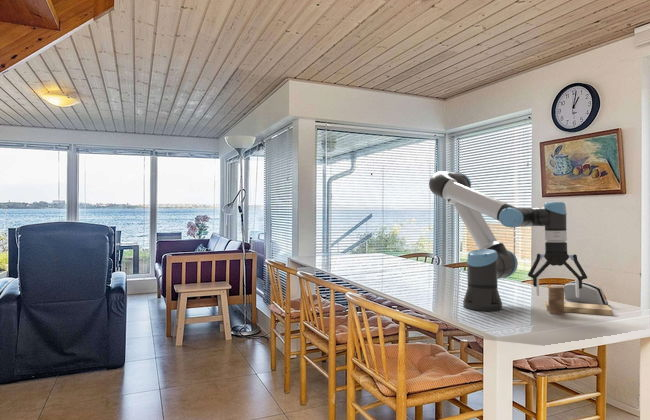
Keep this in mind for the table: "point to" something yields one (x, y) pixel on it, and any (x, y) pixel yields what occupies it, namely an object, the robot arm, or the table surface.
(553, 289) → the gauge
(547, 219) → the robot arm
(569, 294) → the grey curved slab
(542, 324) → the table surface
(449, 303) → the table surface
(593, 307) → the board
